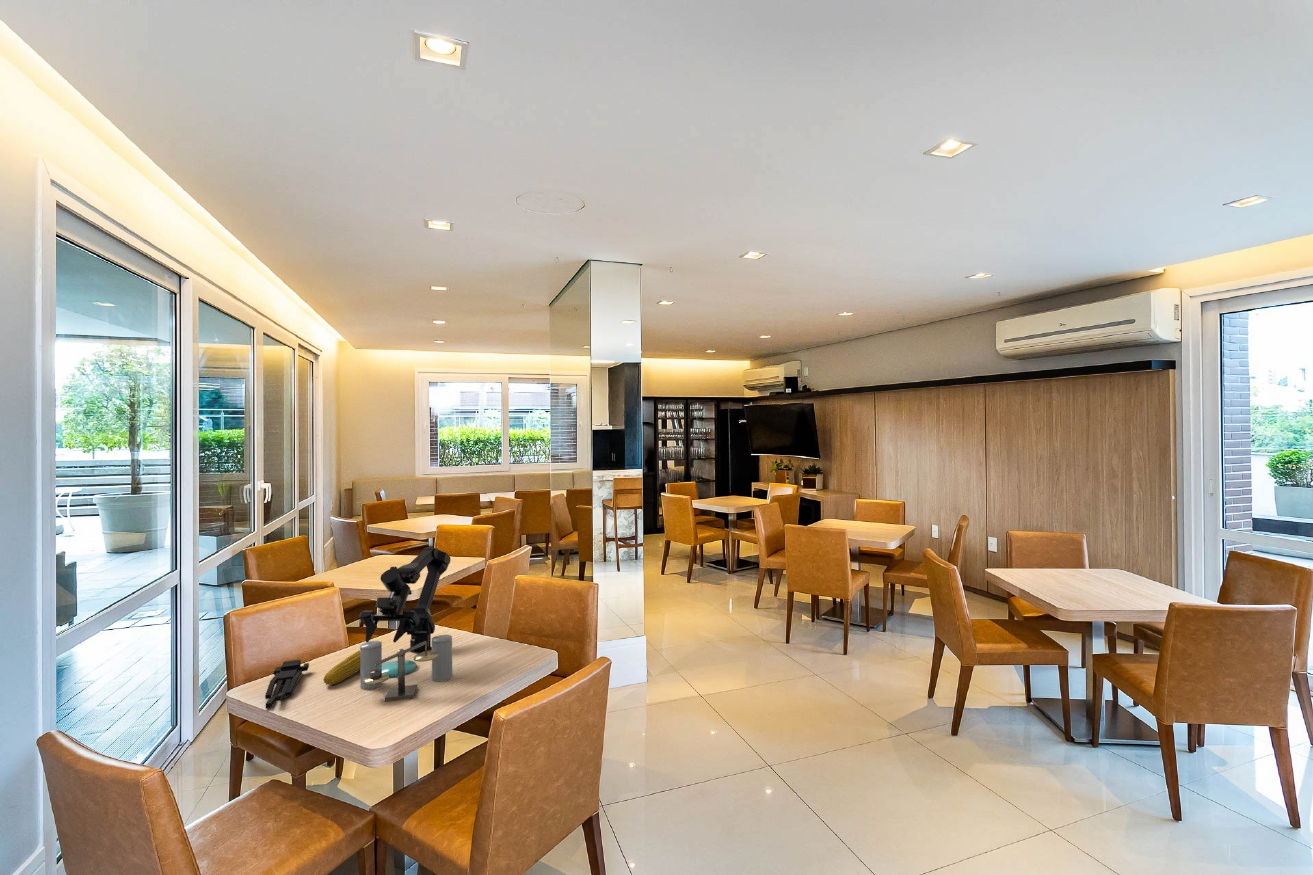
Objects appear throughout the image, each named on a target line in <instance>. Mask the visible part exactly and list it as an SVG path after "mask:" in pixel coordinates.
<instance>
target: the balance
mask: <svg viewBox="0 0 1313 875" xmlns="http://www.w3.org/2000/svg"><path fill="white" fill-rule="evenodd" d="M423 645H425V652H422V653H416V654H415V655H414V656H413V661H414V662H421V663H422V662H429V661H432V660H433V659H436V658H437V657H438V653H437V652H432V651H427V642H426V641H424V642H422V643H419V644H417V645H415V646H412V647H410V646H409V647H408V648H406V649H403V648H400V649H398V650H397V651H396V652H397V653H394V654H391V655H390V656H387V657H385V658H383V659H382V660H380V661H378V662H376V663H375V670H372V671H370V676H367V677H365V678H364V679H363V683H364V684H378V683H382V684H383V683H384V682H386V681H387V680H389V679H390V678H389V675H388V674H384V673H382V670H381V669H377V665H380V664H383V663H387V662H390V661H391V660H393V659H396V658H397V660H398V677H397V686H391V687H389V688H388V690H387V692H386V694H385V696H384V702H385V703H387V702H394V701H403V700H411V699H412V700H413V699H415V696H416V693H417V691H418V686H419V685H418V684H417V683H416V684H407V685H406V674H405V660H406V654H407V653H409V652H411V651H412V650H414V649H416V648H418V647H421V646H423Z"/></svg>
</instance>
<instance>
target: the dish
mask: <svg viewBox="0 0 1313 875" xmlns="http://www.w3.org/2000/svg"><path fill="white" fill-rule="evenodd" d="M416 669H417V666H416V661H415V660H410V659H405V675H408V674H410V673H412V672H414V671H415V670H416ZM382 673H384V674H388V675H389V679H390V678H391V679H392V678H398V659H397V660H392V661H391V660H390V661H386V662H384V663H382Z"/></svg>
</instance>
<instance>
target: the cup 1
mask: <svg viewBox="0 0 1313 875" xmlns="http://www.w3.org/2000/svg"><path fill="white" fill-rule="evenodd" d="M382 643H383V642H382V641H379V640H372V641H371V640H369V642H366V641H365V642H363V643H361V644H359V651H360V670H359V671H360V672H359V673H360V674H359V676H360V678H359V679H360V680H359V681H360V685H359V687H360V689H361V690H373V689H376V688H379V687H381V686H382V684H383V682H382V683H378V684H364V683H363V679H364V678H365V677H367V676H370V671H372V670H375V663H376V662H378V661H380V660H383V659H382V658H383V657H382V655H383V654H382V653H383V652H382V649H383V648H382V646H383V644H382ZM382 664H383V663H382ZM382 664H380V665H377V669H381V670H382Z"/></svg>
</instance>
